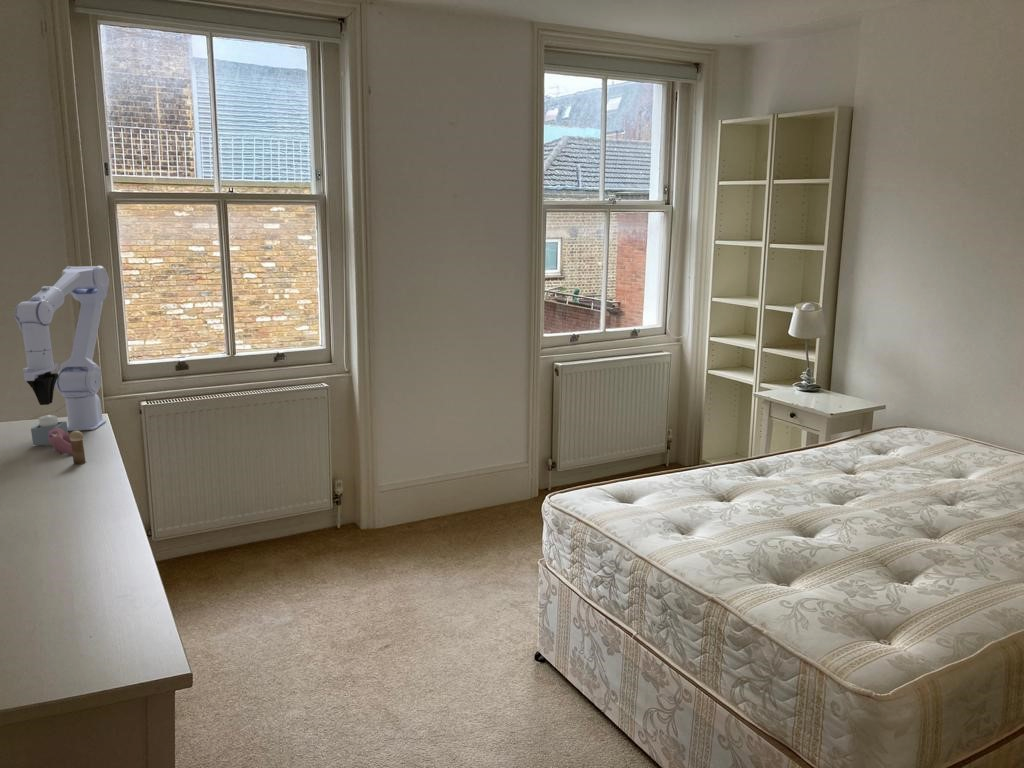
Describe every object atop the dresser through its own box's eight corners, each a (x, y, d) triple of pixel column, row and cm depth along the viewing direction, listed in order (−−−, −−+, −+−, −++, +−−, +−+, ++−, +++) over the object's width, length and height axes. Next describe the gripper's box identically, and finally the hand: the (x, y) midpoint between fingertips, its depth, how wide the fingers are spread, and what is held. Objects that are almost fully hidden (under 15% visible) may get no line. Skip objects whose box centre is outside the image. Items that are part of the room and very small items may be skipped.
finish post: (75, 461, 190) (71, 429, 189) (88, 460, 190) (84, 428, 189) (70, 465, 187) (66, 432, 186) (83, 464, 188) (79, 432, 186)
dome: (44, 429, 208) (42, 413, 208) (61, 428, 209) (59, 413, 208) (37, 433, 205) (35, 417, 204) (54, 432, 205) (52, 416, 204)
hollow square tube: (43, 439, 210) (41, 422, 209) (68, 438, 211) (66, 421, 210) (33, 446, 204) (30, 428, 203) (58, 444, 205) (56, 427, 204)
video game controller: (63, 453, 203) (45, 430, 201) (80, 442, 205) (63, 419, 202) (60, 463, 195) (41, 439, 192) (79, 452, 196) (60, 428, 193)
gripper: (34, 346, 209) (41, 398, 212) (7, 355, 195) (15, 411, 198) (63, 345, 210) (70, 397, 213) (38, 354, 196) (46, 409, 199)
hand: (46, 403), depth 205 cm, fingers closed
